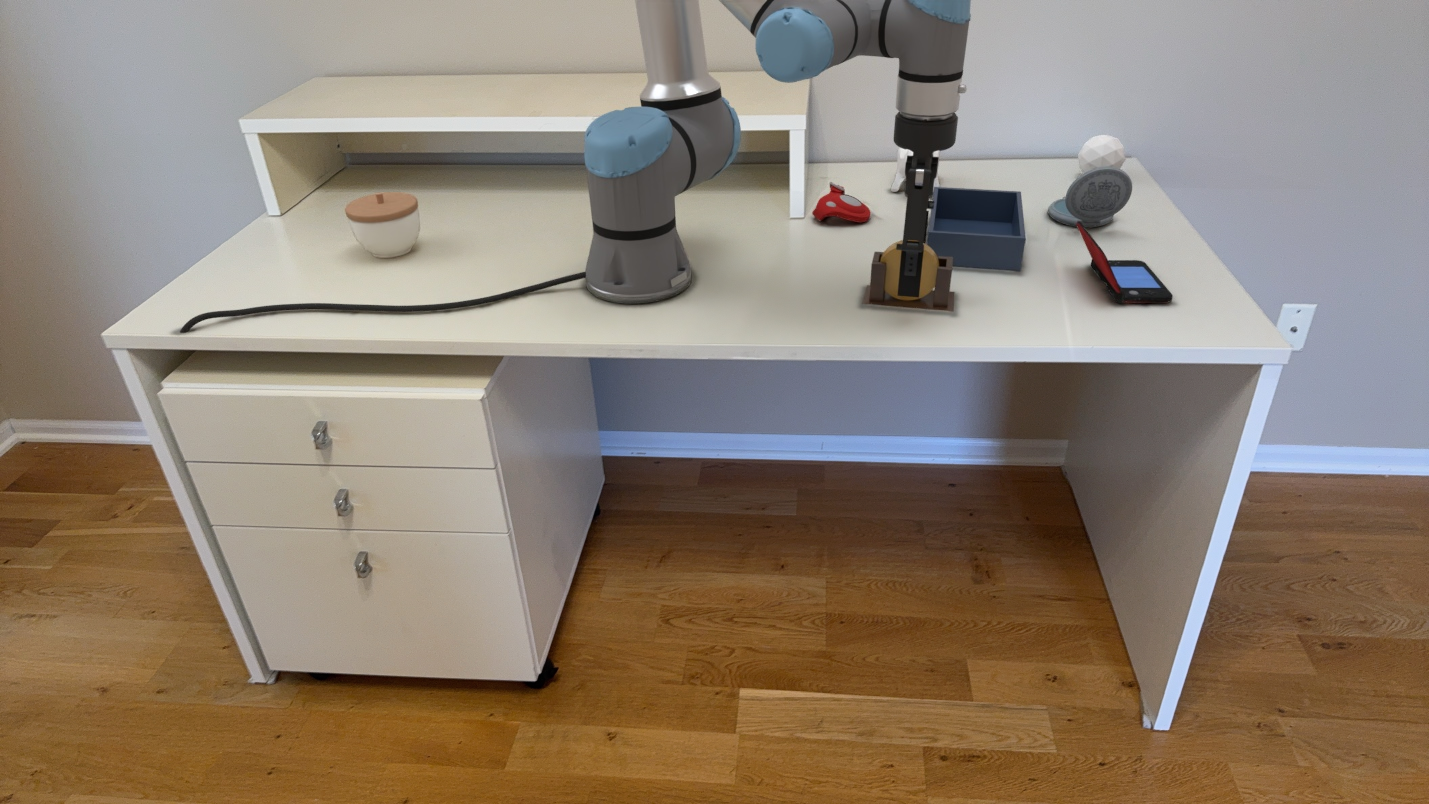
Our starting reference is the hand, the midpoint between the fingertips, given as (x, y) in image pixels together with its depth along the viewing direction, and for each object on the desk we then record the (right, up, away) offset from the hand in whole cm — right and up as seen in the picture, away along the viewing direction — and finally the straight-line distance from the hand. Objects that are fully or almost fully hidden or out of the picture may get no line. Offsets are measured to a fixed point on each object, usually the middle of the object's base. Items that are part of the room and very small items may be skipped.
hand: (911, 274), depth 122 cm
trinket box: (-78, +7, +22) cm, 81 cm away
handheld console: (+30, -1, +5) cm, 30 cm away
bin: (+13, +7, +18) cm, 23 cm away
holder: (0, -3, +2) cm, 4 cm away
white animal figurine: (+9, +21, +40) cm, 46 cm away
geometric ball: (+42, +23, +42) cm, 64 cm away
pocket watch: (+33, +13, +26) cm, 44 cm away
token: (0, -3, +2) cm, 3 cm away
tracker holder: (-5, +14, +30) cm, 34 cm away
